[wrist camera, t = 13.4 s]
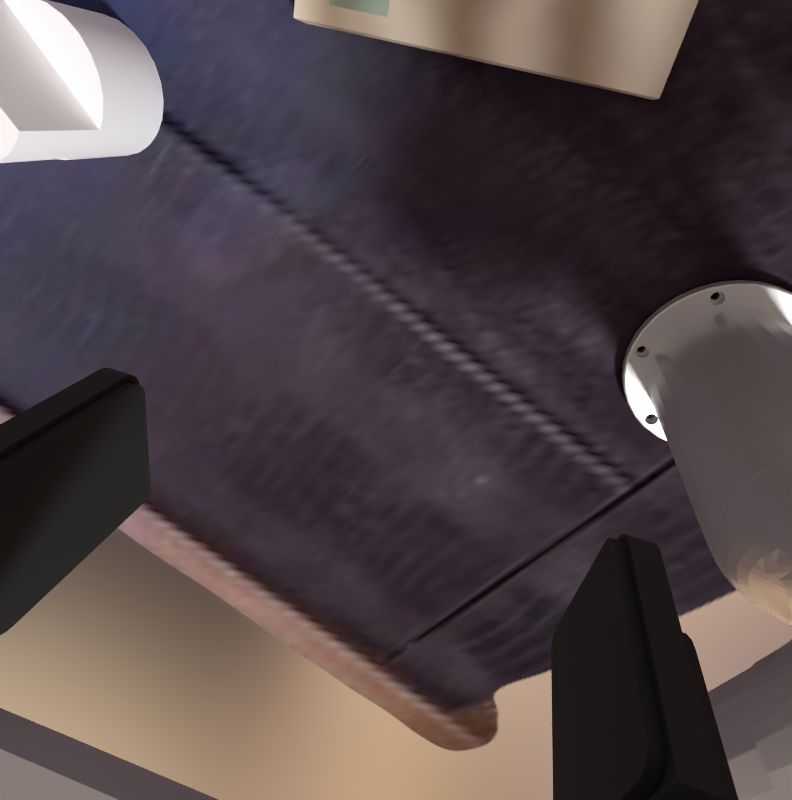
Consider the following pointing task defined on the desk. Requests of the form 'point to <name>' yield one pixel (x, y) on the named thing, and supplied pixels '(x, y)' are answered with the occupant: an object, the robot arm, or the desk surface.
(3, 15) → the cylinder with rectangular tab
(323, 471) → the desk surface
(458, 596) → the desk surface
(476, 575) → the desk surface
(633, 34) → the fader board
